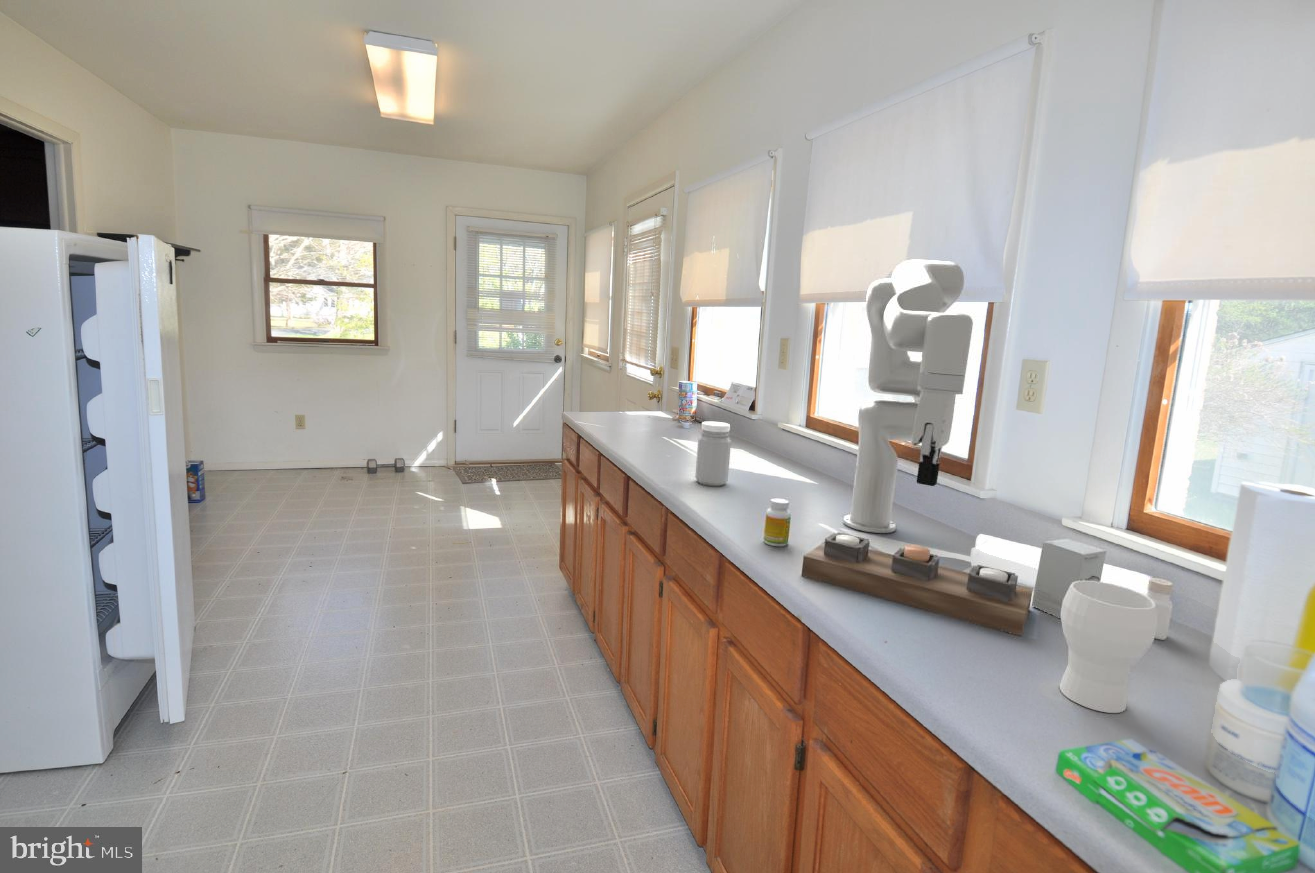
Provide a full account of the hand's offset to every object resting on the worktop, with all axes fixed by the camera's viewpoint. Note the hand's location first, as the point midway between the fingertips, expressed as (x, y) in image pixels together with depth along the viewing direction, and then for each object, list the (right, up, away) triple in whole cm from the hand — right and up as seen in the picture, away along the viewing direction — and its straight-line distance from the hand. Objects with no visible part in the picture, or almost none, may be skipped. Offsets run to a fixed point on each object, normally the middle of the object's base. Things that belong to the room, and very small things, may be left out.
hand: (926, 483), depth 122 cm
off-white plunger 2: (+10, -18, -4) cm, 21 cm away
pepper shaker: (+35, -25, -8) cm, 44 cm away
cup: (+10, -27, -30) cm, 42 cm away
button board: (-2, -20, +3) cm, 21 cm away
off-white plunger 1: (-12, -14, +10) cm, 21 cm away
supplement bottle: (-23, -15, +27) cm, 38 cm away
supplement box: (+24, -23, -1) cm, 33 cm away
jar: (-33, -5, +79) cm, 86 cm away
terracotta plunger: (-1, -15, +2) cm, 15 cm away
